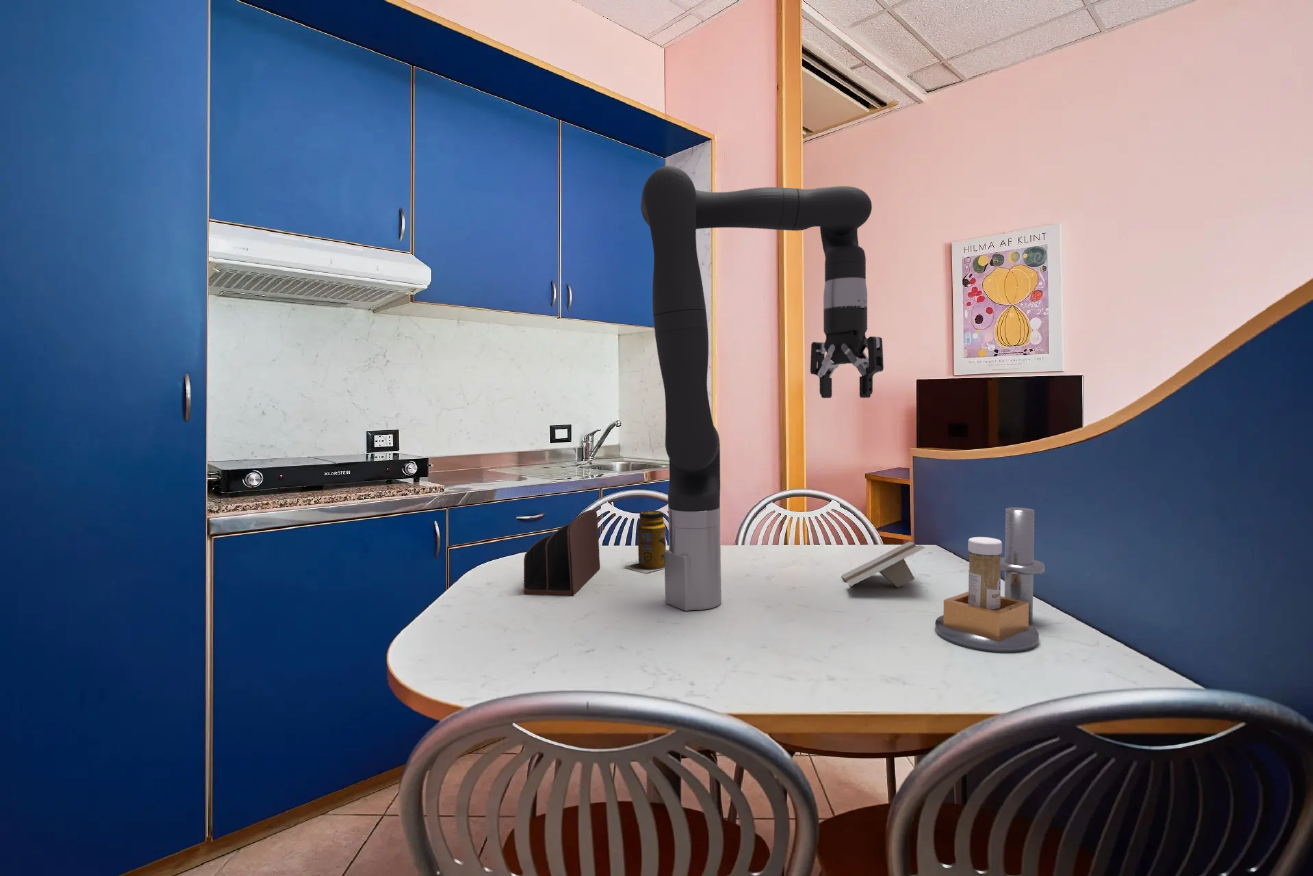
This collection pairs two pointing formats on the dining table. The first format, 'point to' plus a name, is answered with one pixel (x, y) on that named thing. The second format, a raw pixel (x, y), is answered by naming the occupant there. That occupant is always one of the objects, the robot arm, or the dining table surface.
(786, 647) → the dining table surface
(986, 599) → the sprinkles bottle
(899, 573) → the tilted grey ramp
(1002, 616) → the caddy stand
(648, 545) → the condiment
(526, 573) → the letter holder
